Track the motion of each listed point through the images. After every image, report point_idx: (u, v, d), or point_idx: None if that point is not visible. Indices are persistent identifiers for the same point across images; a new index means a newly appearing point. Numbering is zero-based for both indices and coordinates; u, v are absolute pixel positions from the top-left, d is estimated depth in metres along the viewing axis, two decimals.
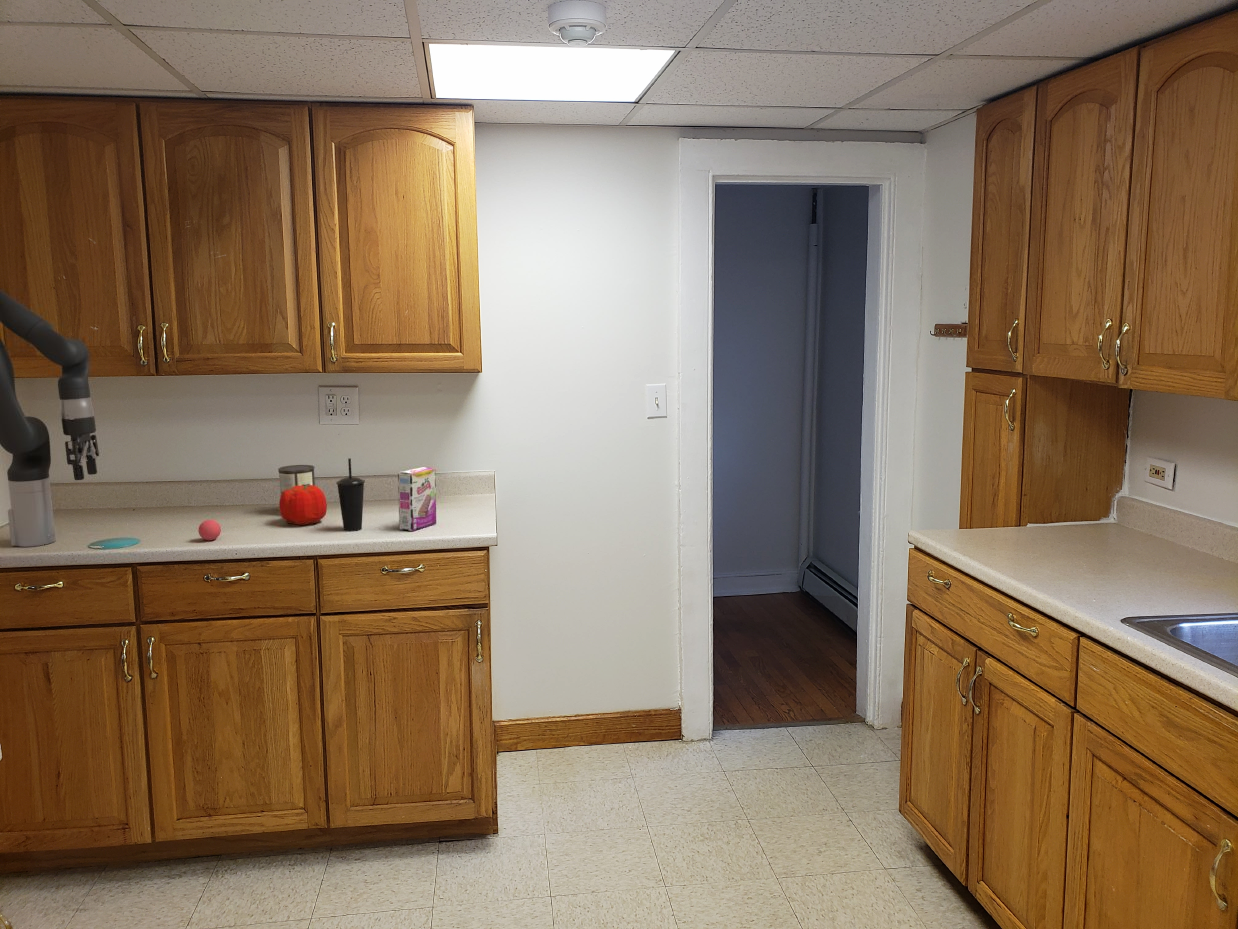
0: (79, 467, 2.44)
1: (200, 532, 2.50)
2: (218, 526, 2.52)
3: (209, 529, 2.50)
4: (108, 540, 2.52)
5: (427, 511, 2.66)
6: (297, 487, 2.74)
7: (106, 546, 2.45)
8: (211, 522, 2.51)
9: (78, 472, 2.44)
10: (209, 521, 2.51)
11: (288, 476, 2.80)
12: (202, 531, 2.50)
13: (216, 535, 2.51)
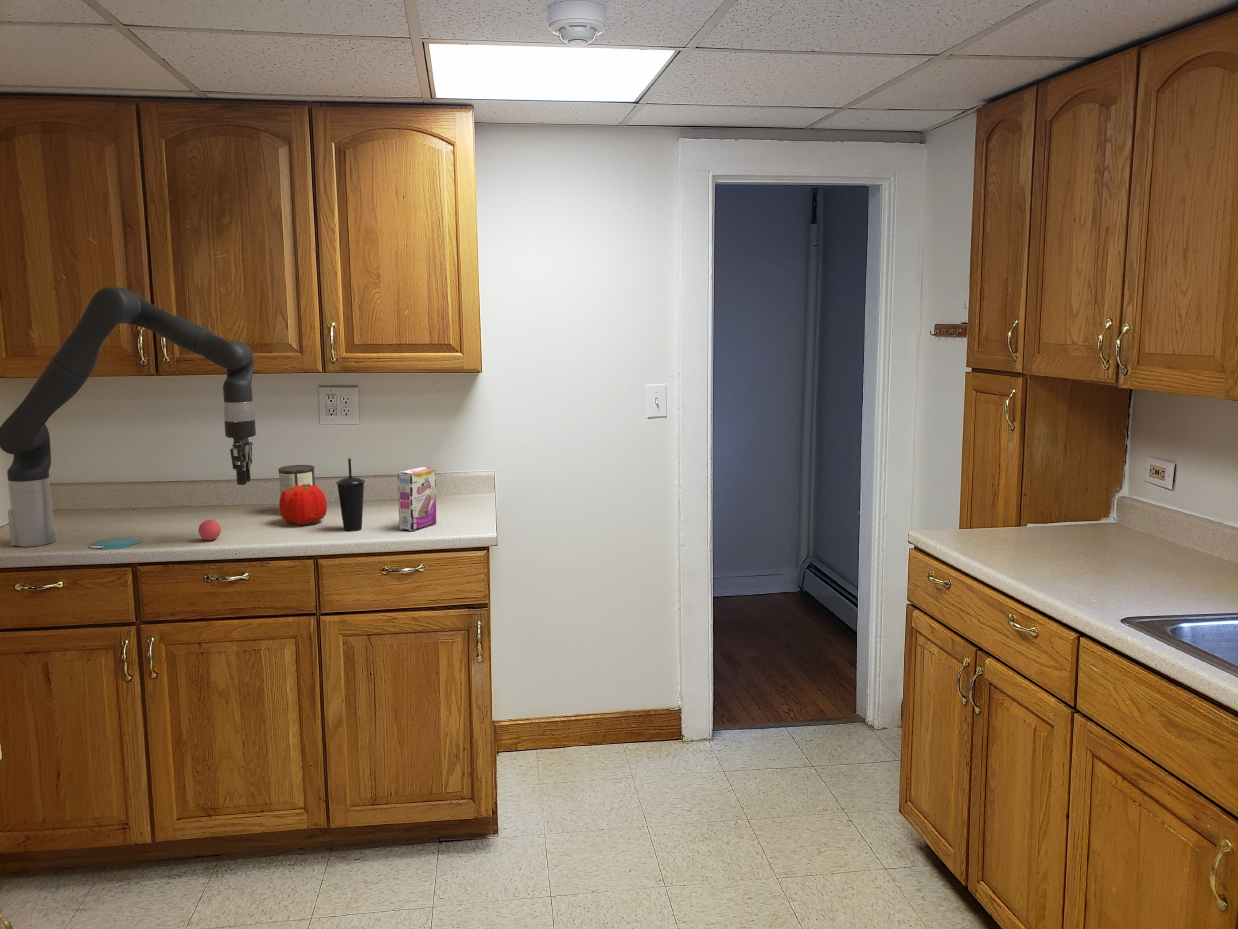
0: (243, 472, 2.48)
1: (200, 532, 2.50)
2: (218, 526, 2.52)
3: (209, 529, 2.50)
4: (108, 540, 2.52)
5: (427, 511, 2.66)
6: (297, 487, 2.74)
7: (106, 546, 2.45)
8: (211, 522, 2.51)
9: (242, 477, 2.48)
10: (209, 521, 2.51)
11: (288, 476, 2.80)
12: (202, 531, 2.50)
13: (216, 535, 2.51)
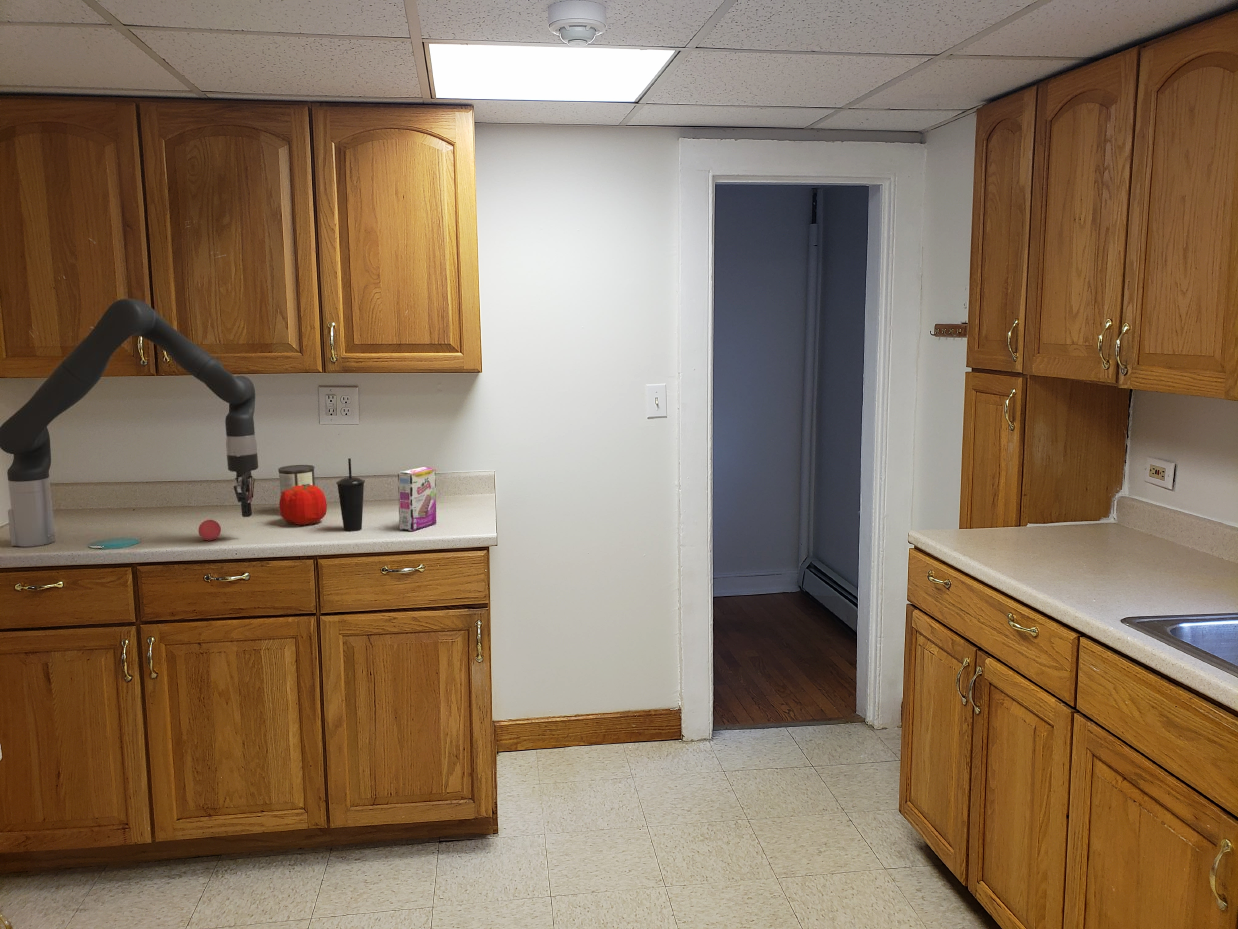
0: (247, 504, 2.52)
1: (200, 532, 2.50)
2: (218, 526, 2.52)
3: (209, 529, 2.50)
4: (108, 540, 2.52)
5: (427, 511, 2.66)
6: (297, 487, 2.74)
7: (106, 546, 2.45)
8: (211, 522, 2.51)
9: (247, 509, 2.51)
10: (209, 521, 2.51)
11: (288, 476, 2.80)
12: (202, 531, 2.50)
13: (216, 535, 2.51)
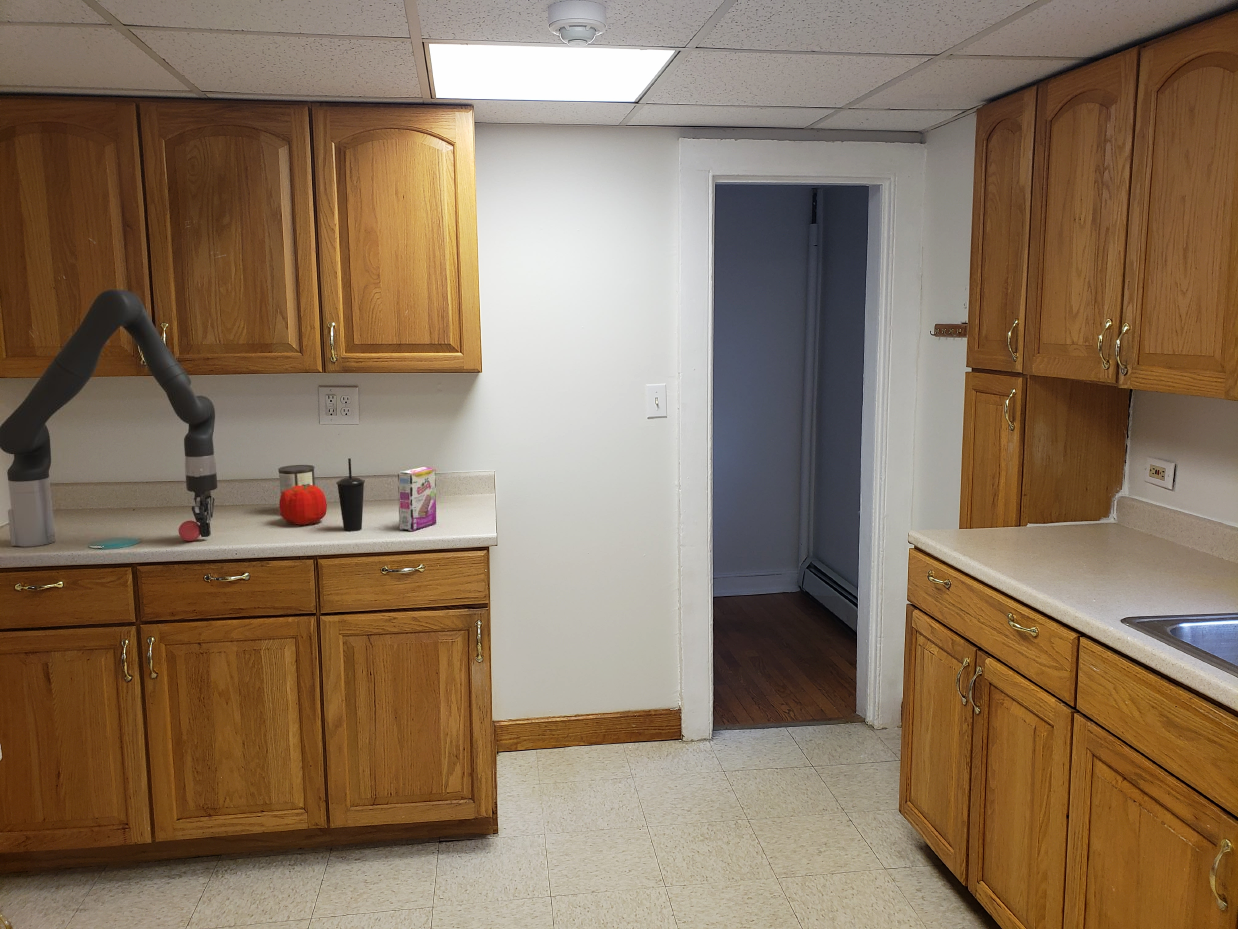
0: (206, 525, 2.51)
1: (188, 539, 2.50)
2: (185, 522, 2.50)
3: (184, 530, 2.49)
4: (108, 540, 2.52)
5: (427, 511, 2.66)
6: (297, 487, 2.74)
7: (106, 546, 2.45)
8: (179, 528, 2.50)
9: (205, 529, 2.51)
10: None
11: (288, 476, 2.80)
12: (186, 537, 2.49)
13: (193, 524, 2.50)
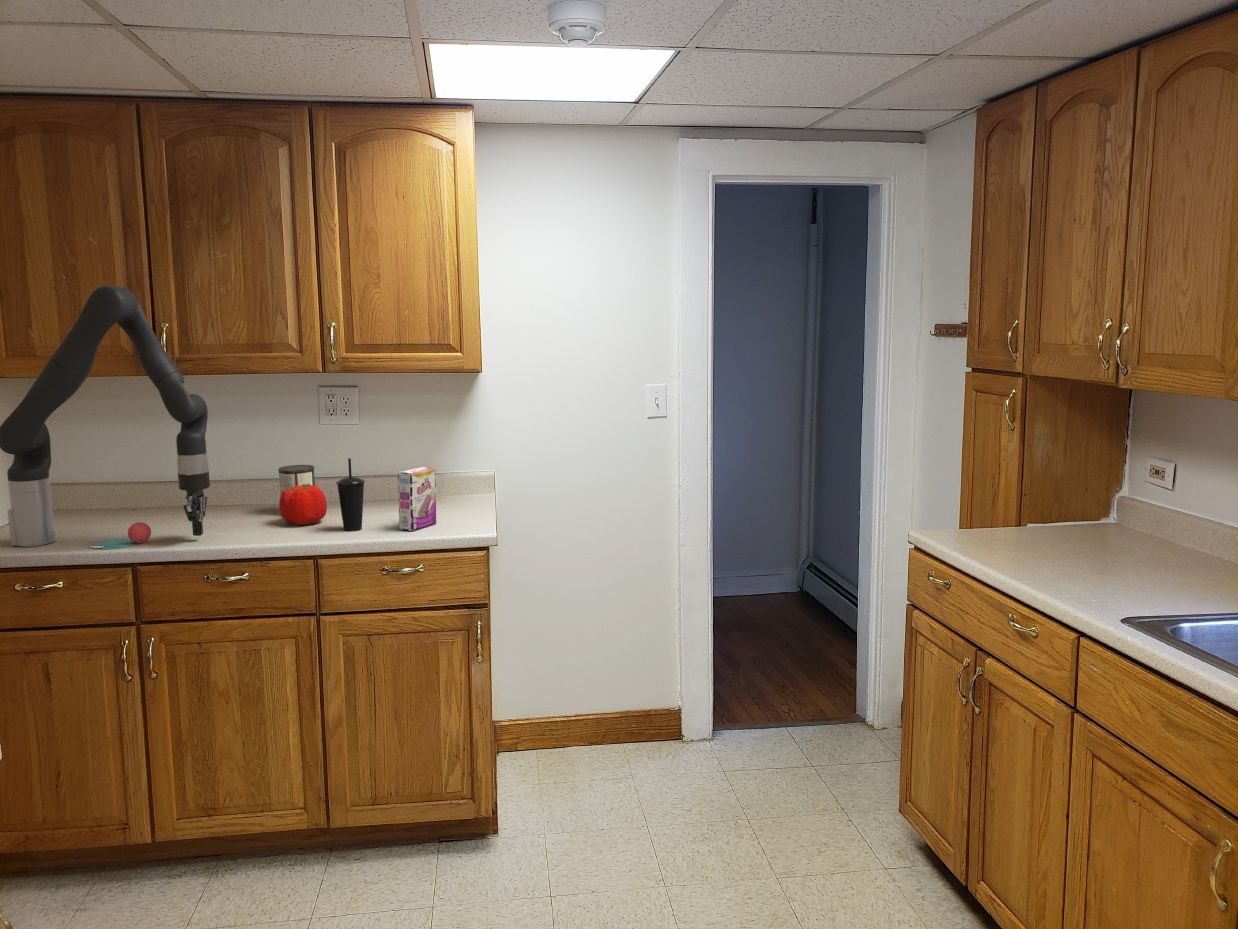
0: (198, 523, 2.51)
1: (129, 533, 2.47)
2: (149, 531, 2.49)
3: (139, 532, 2.47)
4: (108, 540, 2.52)
5: (427, 511, 2.66)
6: (297, 487, 2.74)
7: (106, 546, 2.45)
8: (142, 526, 2.48)
9: (198, 528, 2.50)
10: (141, 524, 2.48)
11: (288, 476, 2.80)
12: (131, 532, 2.47)
13: (145, 539, 2.49)
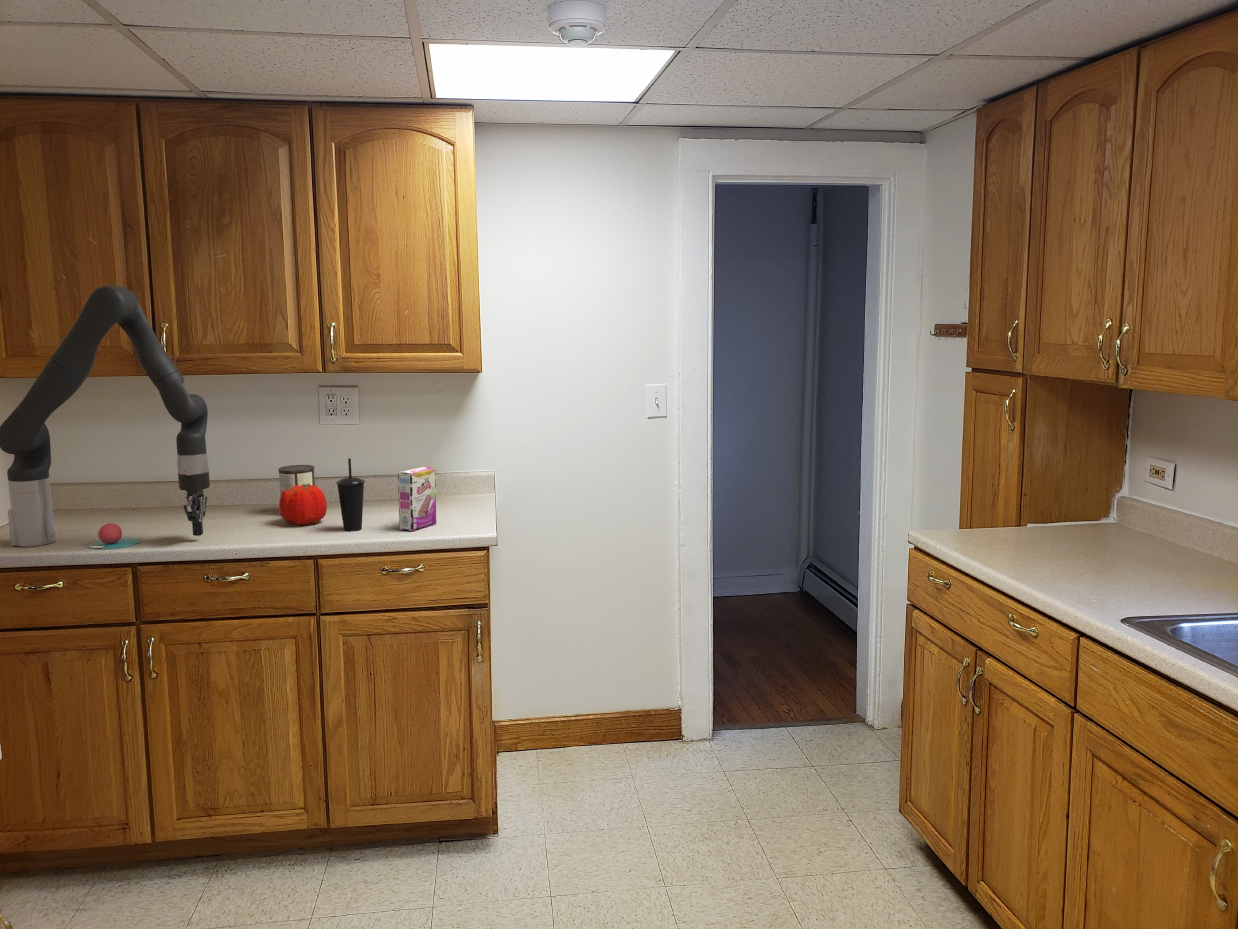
0: (198, 523, 2.51)
1: (113, 539, 2.47)
2: (99, 531, 2.47)
3: (102, 536, 2.46)
4: None
5: (427, 511, 2.66)
6: (297, 487, 2.74)
7: (106, 546, 2.45)
8: (100, 539, 2.47)
9: (198, 528, 2.50)
10: (101, 540, 2.48)
11: (288, 476, 2.80)
12: (110, 539, 2.46)
13: (104, 526, 2.47)
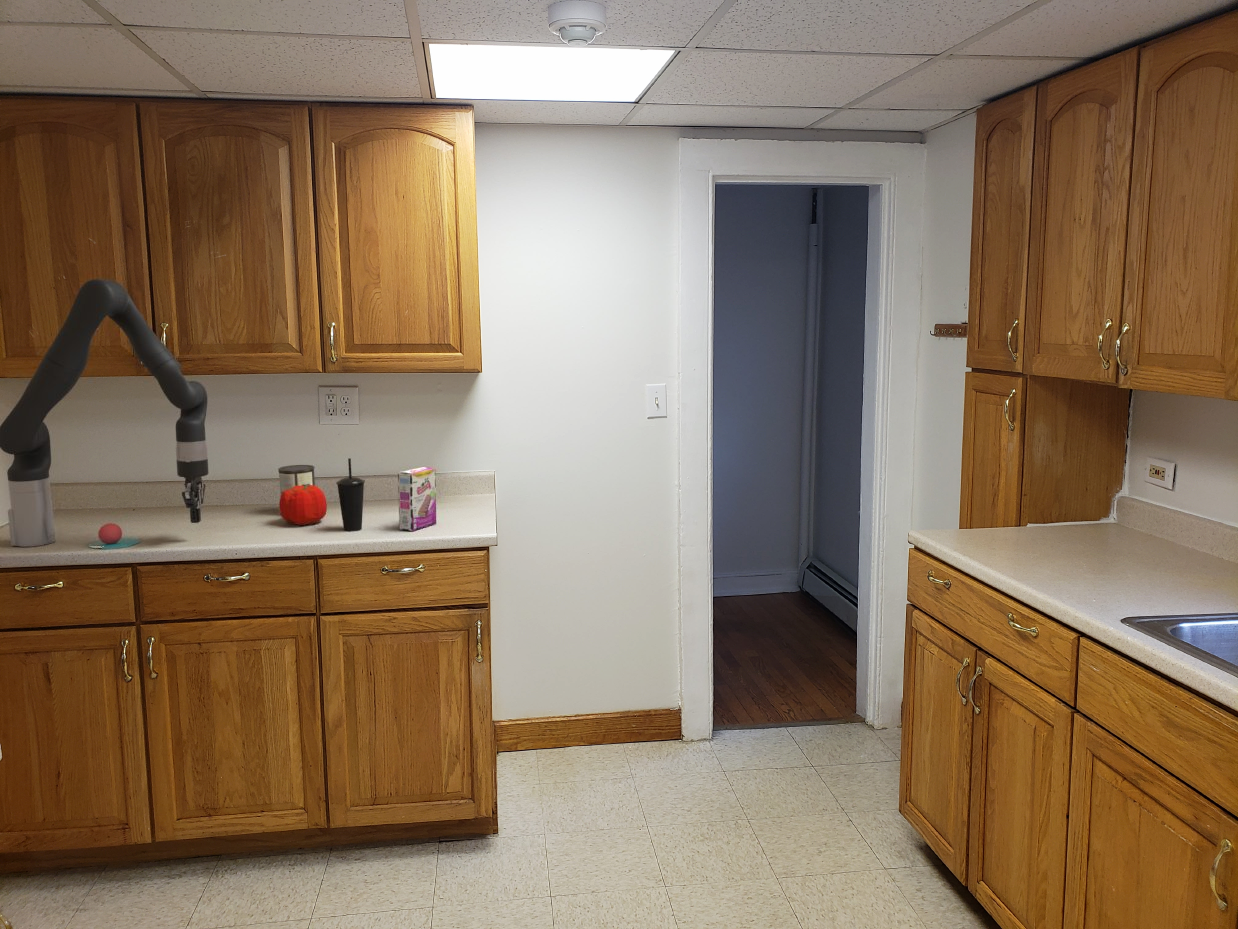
0: (196, 510, 2.50)
1: (113, 539, 2.47)
2: (99, 531, 2.47)
3: (102, 536, 2.46)
4: None
5: (427, 511, 2.66)
6: (297, 487, 2.74)
7: (106, 546, 2.45)
8: (100, 539, 2.47)
9: (195, 515, 2.50)
10: (101, 540, 2.48)
11: (288, 476, 2.80)
12: (110, 539, 2.46)
13: (104, 526, 2.47)
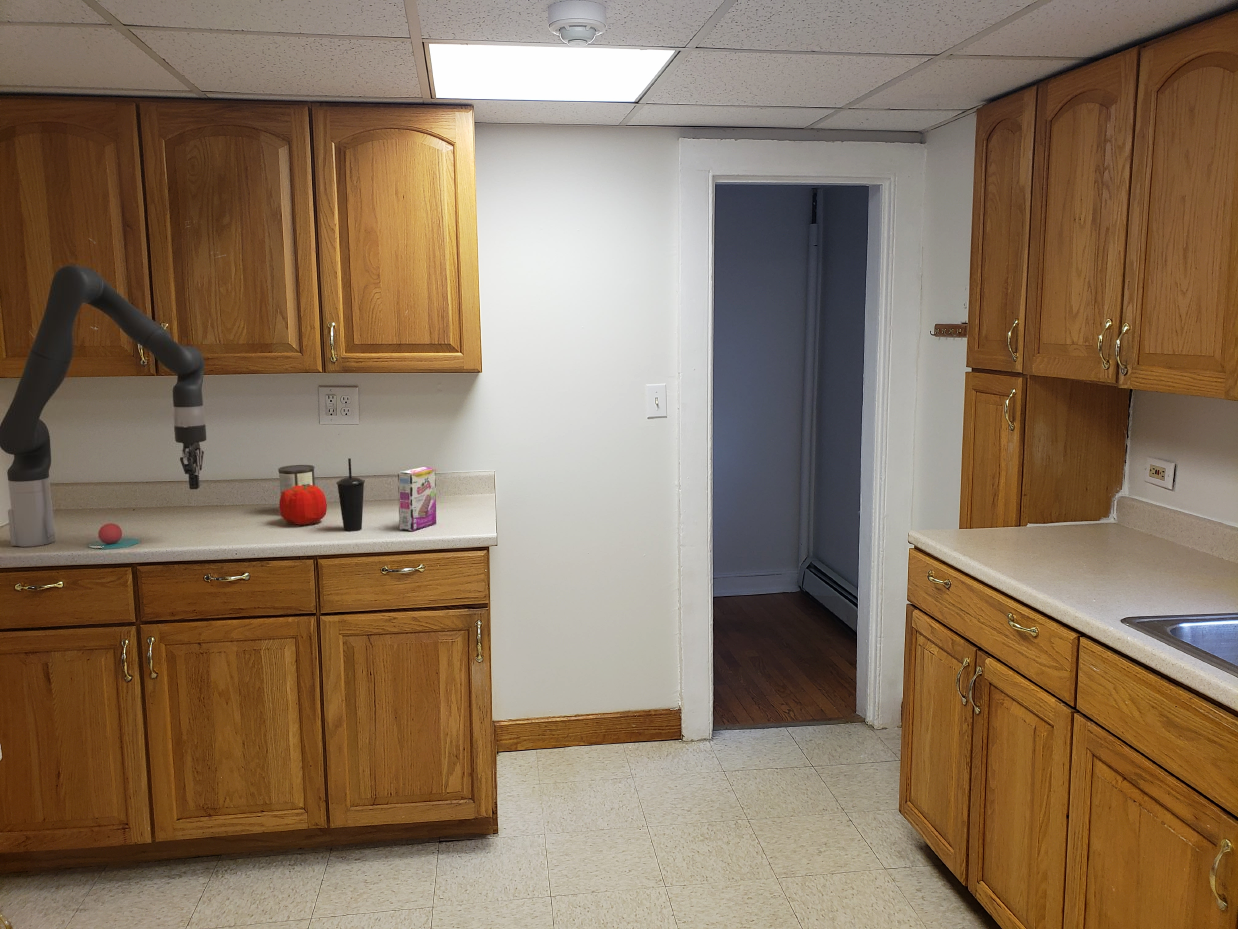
0: (195, 477, 2.49)
1: (113, 539, 2.47)
2: (99, 531, 2.47)
3: (102, 536, 2.46)
4: None
5: (427, 511, 2.66)
6: (297, 487, 2.74)
7: (106, 546, 2.45)
8: (100, 539, 2.47)
9: (194, 481, 2.48)
10: (101, 540, 2.48)
11: (288, 476, 2.80)
12: (110, 539, 2.46)
13: (104, 526, 2.47)
